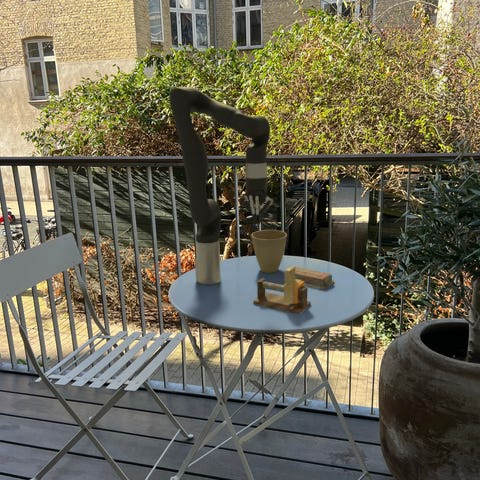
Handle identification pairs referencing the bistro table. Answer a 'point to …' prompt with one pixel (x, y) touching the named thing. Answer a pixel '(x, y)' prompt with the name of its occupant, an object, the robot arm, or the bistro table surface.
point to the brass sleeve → (290, 284)
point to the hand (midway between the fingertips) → (257, 224)
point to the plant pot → (269, 249)
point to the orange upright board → (296, 287)
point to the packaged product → (313, 278)
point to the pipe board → (280, 298)
